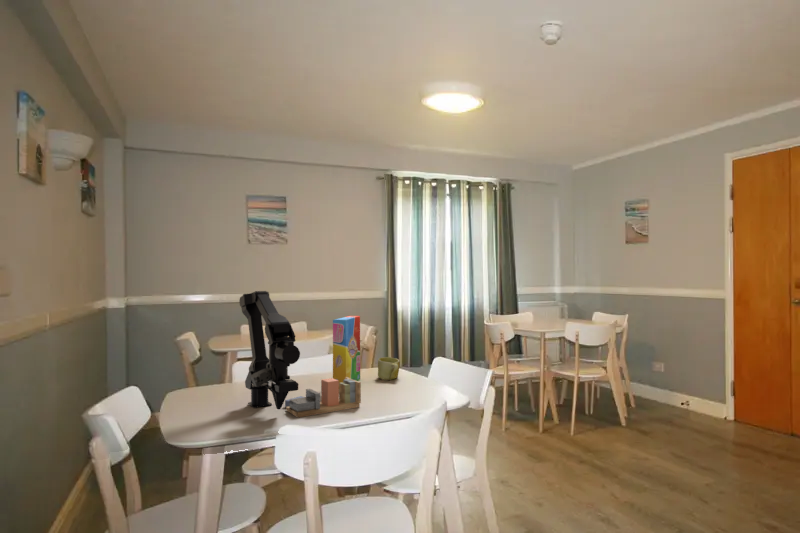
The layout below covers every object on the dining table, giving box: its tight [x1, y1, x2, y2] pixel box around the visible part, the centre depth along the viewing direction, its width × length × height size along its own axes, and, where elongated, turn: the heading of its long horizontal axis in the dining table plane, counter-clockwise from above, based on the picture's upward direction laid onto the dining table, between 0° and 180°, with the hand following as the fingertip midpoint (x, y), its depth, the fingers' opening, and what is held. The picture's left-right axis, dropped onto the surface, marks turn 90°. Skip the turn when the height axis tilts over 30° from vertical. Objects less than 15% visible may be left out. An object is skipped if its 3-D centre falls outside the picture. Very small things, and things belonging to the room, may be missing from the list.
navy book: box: [284, 395, 304, 408], centre depth 173 cm, size 5×7×2 cm
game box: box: [332, 315, 361, 383], centre depth 206 cm, size 21×6×27 cm, turn 168°
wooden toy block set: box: [285, 377, 362, 418], centre depth 169 cm, size 10×22×8 cm, turn 123°
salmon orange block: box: [320, 377, 339, 406], centre depth 170 cm, size 5×4×8 cm
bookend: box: [289, 388, 321, 412], centre depth 165 cm, size 8×8×5 cm
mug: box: [377, 356, 401, 381], centre depth 217 cm, size 12×10×10 cm
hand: (278, 409), depth 160 cm, fingers closed
